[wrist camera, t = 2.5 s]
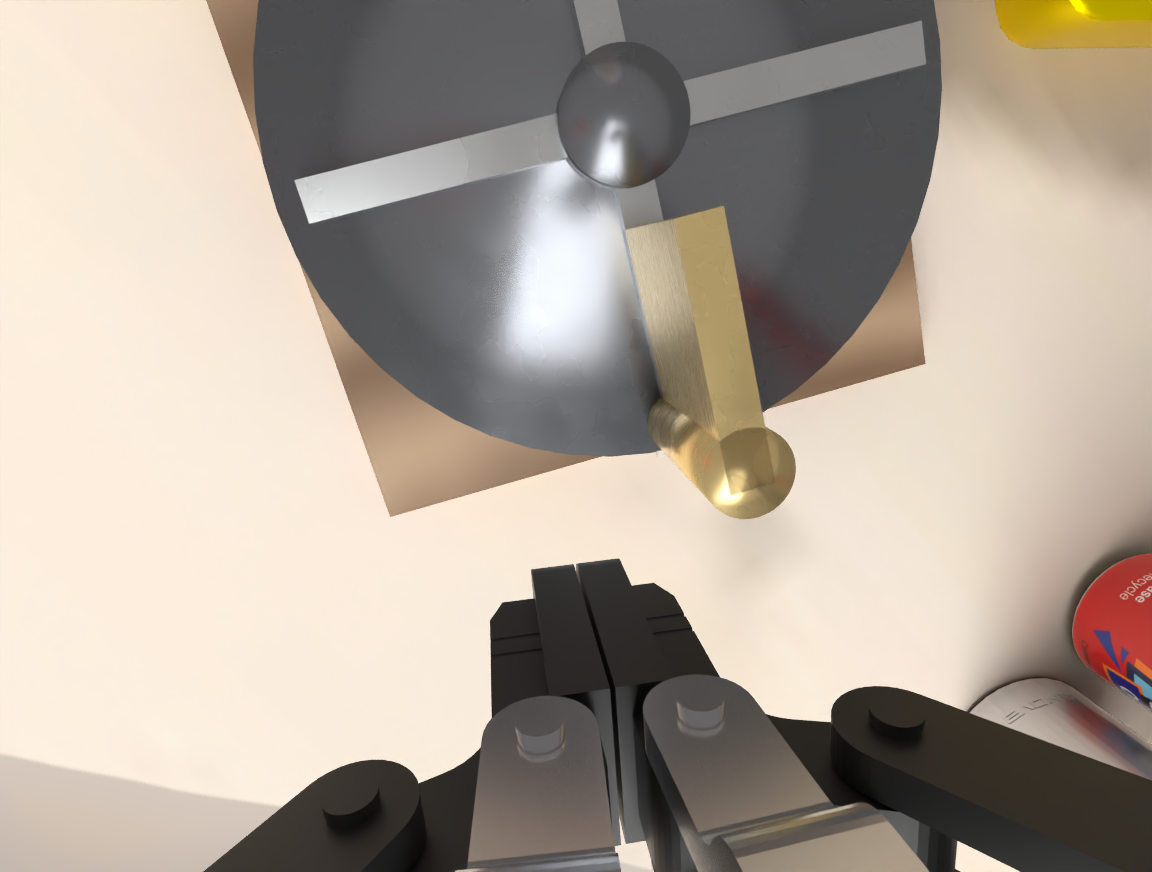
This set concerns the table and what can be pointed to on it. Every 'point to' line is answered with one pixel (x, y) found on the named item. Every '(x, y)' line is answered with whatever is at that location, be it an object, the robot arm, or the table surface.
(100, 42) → the table surface
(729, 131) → the handwheel
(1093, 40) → the element tile
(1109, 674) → the soda can
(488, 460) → the winch base
